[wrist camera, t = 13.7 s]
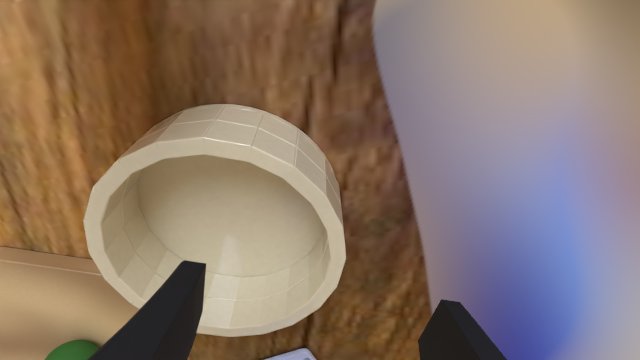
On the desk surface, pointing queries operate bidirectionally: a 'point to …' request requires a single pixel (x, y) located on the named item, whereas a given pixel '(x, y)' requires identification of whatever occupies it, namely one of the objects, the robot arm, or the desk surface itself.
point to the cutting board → (54, 303)
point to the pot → (222, 217)
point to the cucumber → (73, 351)
